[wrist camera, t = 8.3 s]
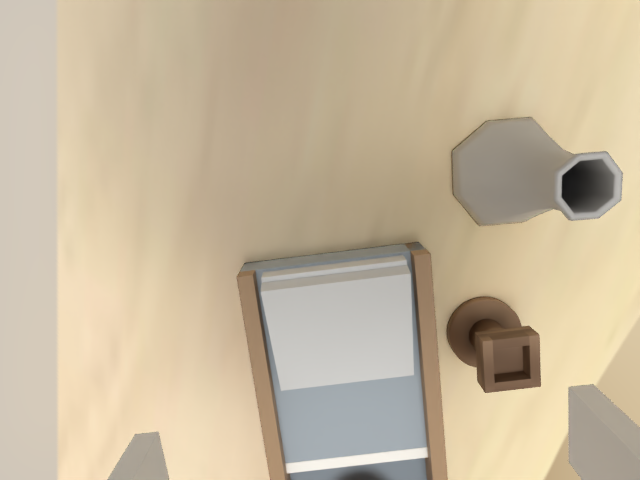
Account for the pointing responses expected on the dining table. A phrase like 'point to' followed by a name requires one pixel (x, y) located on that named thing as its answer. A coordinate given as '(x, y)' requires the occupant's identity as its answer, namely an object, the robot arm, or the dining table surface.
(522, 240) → the dining table surface
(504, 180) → the flask
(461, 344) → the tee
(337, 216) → the dining table surface
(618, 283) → the dining table surface
